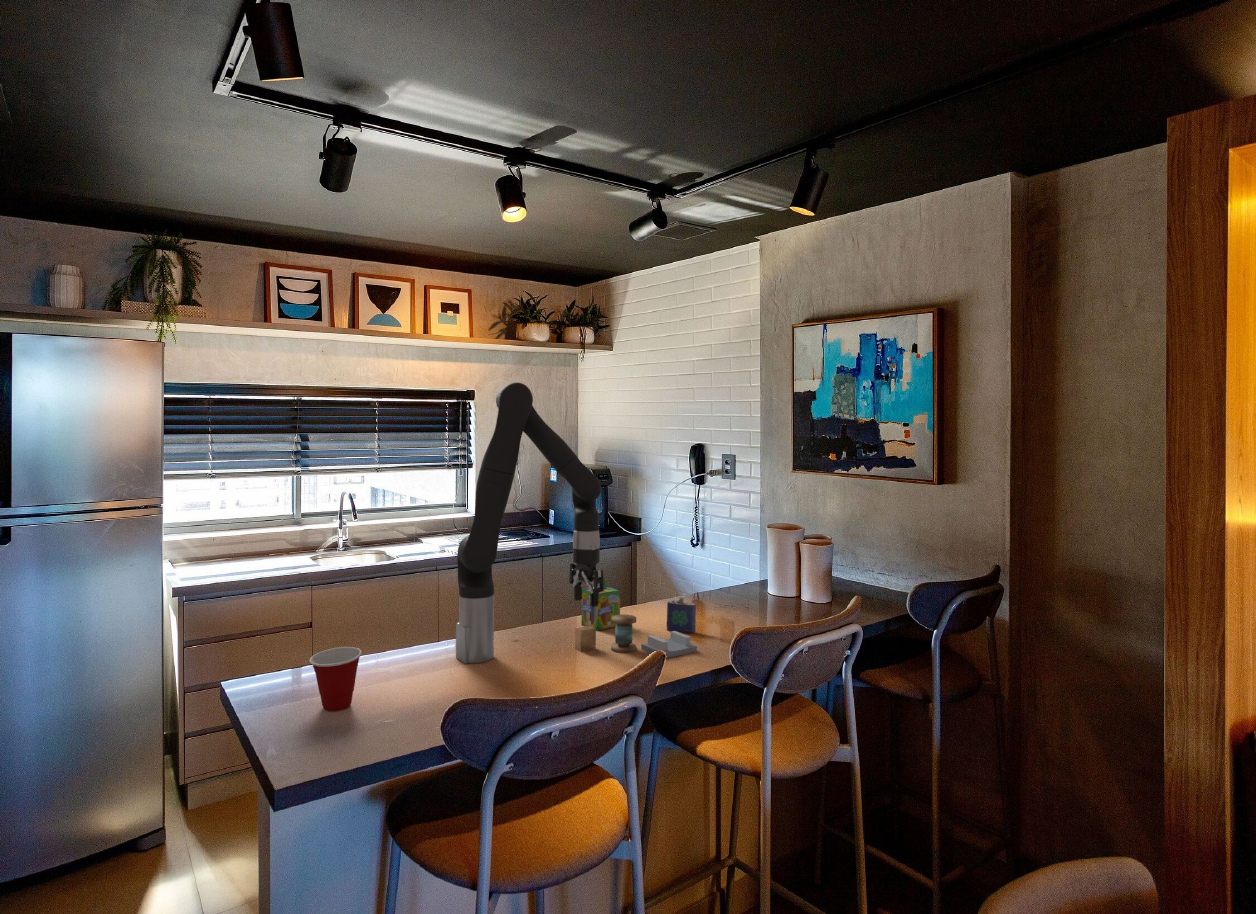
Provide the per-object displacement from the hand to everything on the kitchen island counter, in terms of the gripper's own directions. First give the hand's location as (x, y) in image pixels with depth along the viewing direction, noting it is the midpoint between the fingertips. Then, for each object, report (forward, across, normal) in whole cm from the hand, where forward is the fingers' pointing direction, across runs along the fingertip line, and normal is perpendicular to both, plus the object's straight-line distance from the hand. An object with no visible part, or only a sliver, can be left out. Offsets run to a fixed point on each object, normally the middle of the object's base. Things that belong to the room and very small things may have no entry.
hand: (586, 603), depth 209 cm
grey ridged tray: (+13, +14, +19) cm, 27 cm away
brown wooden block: (+13, 0, 0) cm, 13 cm away
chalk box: (+13, -18, +17) cm, 28 cm away
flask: (+14, +1, +34) cm, 36 cm away
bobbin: (+13, +6, +9) cm, 17 cm away
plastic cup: (+13, +6, -69) cm, 71 cm away
